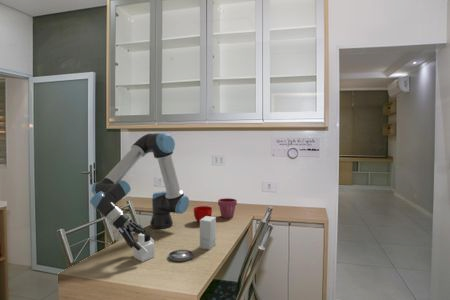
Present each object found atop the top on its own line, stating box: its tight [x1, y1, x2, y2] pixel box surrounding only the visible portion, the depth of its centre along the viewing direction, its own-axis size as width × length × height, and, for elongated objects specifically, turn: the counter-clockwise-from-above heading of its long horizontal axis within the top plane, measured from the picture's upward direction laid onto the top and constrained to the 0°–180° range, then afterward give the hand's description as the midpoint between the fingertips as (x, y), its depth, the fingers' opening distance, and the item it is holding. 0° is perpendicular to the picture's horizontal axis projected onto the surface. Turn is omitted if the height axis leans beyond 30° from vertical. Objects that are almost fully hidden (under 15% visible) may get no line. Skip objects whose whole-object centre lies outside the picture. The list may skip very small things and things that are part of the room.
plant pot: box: [217, 197, 238, 219], centre depth 208 cm, size 14×14×13 cm
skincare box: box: [199, 216, 217, 250], centre depth 148 cm, size 8×7×16 cm
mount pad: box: [168, 249, 194, 263], centre depth 135 cm, size 12×12×1 cm
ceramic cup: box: [193, 205, 213, 224], centre depth 192 cm, size 13×17×10 cm
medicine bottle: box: [133, 231, 155, 262], centre depth 134 cm, size 7×7×12 cm
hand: (149, 248), depth 134 cm, fingers open, 13 cm apart
